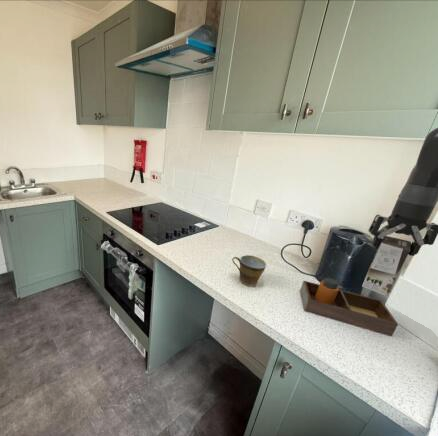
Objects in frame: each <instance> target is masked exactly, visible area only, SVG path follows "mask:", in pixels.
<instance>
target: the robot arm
mask: <svg viewBox="0 0 438 436" xmlns="http://www.w3.org/2000/svg"><path fill="white" fill-rule="evenodd" d="M437 204H438V127H436V128H434V129H432V130H431V131H430V132H429V133H427V135H426V136H425V138H424V141H423V143H422V145H421V148H420V151H419V153H418V157H417V159H416V162H415V164H414V166H413V167H412V169H411V171H410V173H409V175H408V178H407V180H406V181H405V184H404V186H403V187H402V189H401V191H400V192H399V194H398V196H397V200H396V202H395V204H394V206H393V209H391V214H390V215H389V216H383V215H381V214H376V215H375V216H374V218H373V220H372V222H371V224H370V226H369V229H368V232H369V233H370V234H371V235H372V236H373V239H372V241H371V243H370V244H371V246H372V248H373V249H375V250H378V248H379V246H380V244H381V242H382V239H383V237H385V236H389V235H392V234H396V235H397V234H398V235H404V236H409V237H410V236H411V237H412V239H413V241H411V248H410V252H409V254H408V256H409V257H410V256H411V257H414V256H416V255H418V254H419V251H420V250H421V248H422V246H425V245H429V246H432V245H434V243H435V241H436V239H437V238H438V223H435V222H430V223H428V220H429V218H430V217H431V215H432V213H433V211H434V210H435V207H436V205H437ZM385 223H387V224H385ZM383 224H385V225H384V226H383V227H381V226H382V225H383ZM380 227H381V228H380ZM424 229H425V230H426V231H425V233H424V237H423V236H422V234H421V232H420V231H422V230H424Z"/></svg>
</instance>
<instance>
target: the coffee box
mask: <svg viewBox="0 0 438 436" xmlns="http://www.w3.org/2000/svg"><path fill="white" fill-rule="evenodd" d="M411 243H412V241H410V240H407V239H403V238H397V237H392V236H389V235H386V236H385V237H383V238H382V242H381V244H380V246H379V248H378V249H376V252H375V254H374V257H373V259H372V262H371V263H370V266H369V268H368V271H367V272H366V275H365V277H364V280H363V282H362V285H361V287H362V288H365V289H368V290H369V291H373V292H374V293H377V294H380V295H383V296H384V297H387V296H388V295H389V293H390V291H391V289H392V287H393V285H394V283H395V281H396V279H397V278H398V275H399V274H400V272H401V269H402V268H403V266H404V264H405V261H406V259H407V258H408V256H409V252H410V248H411Z"/></svg>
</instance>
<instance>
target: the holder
mask: <svg viewBox="0 0 438 436" xmlns="http://www.w3.org/2000/svg"><path fill="white" fill-rule="evenodd" d="M319 284H320V283H319ZM319 284H318V283H316V282H311V281H307V280H303V281H302V284H301V287H300V290H299V293H300V297H301V302H302V307H303V311H304V312H306V313H309V314H313V315H316V316H319V317H323V318H327V319H330V320H334V321H337V322H341V323H344V324H347V325H351V326H354V327H357V328H361V329H364V330H367V331H371V332H375V333H377V334H381V335H385V336H388V337H393V335H394V333H395V331H396V330H397V328H398V326H399V324H398V322H397V320H396V319H395V317H394V316H393V314H392V313H391V312H390V310H389V309H388V307H387V306H386V305H385V303H384V301H383V300H381V299H378V298H374V297H370V296H367V295H363V294H358V293H356V292H355V293H354V292H351V291H346V290H342V289H339V291H338V293H337V296H336V298H335V300H334V303H333V305H330V304H327V303H323V302H319V301H316V300H314V297H315V295H316V292H317V290H318V287H319Z"/></svg>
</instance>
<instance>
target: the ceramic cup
mask: <svg viewBox="0 0 438 436" xmlns="http://www.w3.org/2000/svg"><path fill="white" fill-rule="evenodd" d="M234 260H237V261H238V262H239V266H238V265H237V263H236V262H235V261H234ZM231 261H232V263H233V264H234V265H235V266H236V268H237V269H238V271H239V282H240V283H241V284H243V286H247V287H256V286H257V284H258V281H259V280H260V278H261V275H263V273H264V272H265V269H266V268H267V262H265V260H264V259H262V258H260V257H257V256H255V255H249V254H244V255H241V256H240V257H237V256H234V257H233V258H232V260H231Z"/></svg>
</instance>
